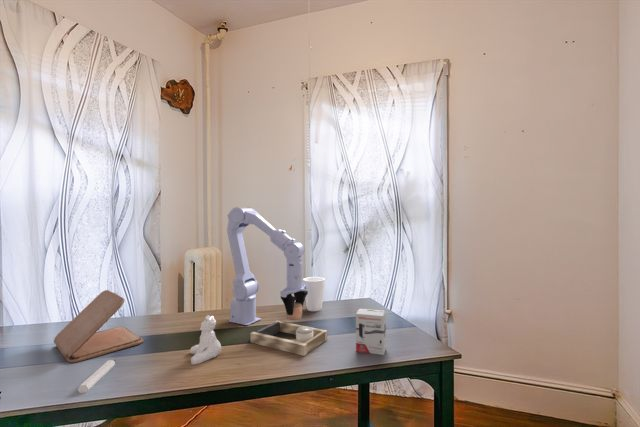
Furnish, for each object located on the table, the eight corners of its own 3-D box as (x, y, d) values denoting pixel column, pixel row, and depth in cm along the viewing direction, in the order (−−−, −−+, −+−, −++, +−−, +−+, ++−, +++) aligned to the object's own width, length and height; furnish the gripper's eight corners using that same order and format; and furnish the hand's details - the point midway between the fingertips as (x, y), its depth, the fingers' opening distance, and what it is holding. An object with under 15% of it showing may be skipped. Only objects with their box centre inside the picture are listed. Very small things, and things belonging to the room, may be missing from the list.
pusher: (250, 339, 110) (250, 329, 110) (270, 329, 119) (270, 319, 119) (260, 341, 108) (260, 331, 108) (279, 331, 117) (279, 321, 117)
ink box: (355, 352, 99) (355, 312, 99) (358, 345, 104) (358, 308, 104) (384, 355, 97) (384, 315, 97) (386, 348, 101) (385, 310, 101)
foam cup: (301, 311, 139) (300, 281, 139) (305, 305, 148) (305, 276, 148) (323, 312, 138) (323, 281, 138) (326, 306, 147) (326, 277, 147)
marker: (116, 365, 94) (84, 396, 78) (109, 362, 94) (76, 392, 78) (121, 357, 94) (90, 386, 79) (114, 354, 94) (82, 382, 78)
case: (52, 347, 106) (51, 297, 106) (125, 329, 121) (124, 285, 121) (65, 367, 92) (64, 310, 92) (146, 344, 107) (145, 295, 107)
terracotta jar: (284, 318, 121) (284, 304, 121) (292, 314, 125) (292, 300, 125) (296, 320, 118) (296, 306, 118) (305, 316, 123) (305, 302, 123)
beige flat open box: (250, 342, 107) (250, 333, 107) (277, 328, 119) (277, 320, 119) (304, 355, 97) (304, 345, 97) (327, 339, 109) (327, 330, 109)
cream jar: (292, 346, 104) (292, 330, 104) (302, 340, 109) (302, 325, 109) (307, 349, 101) (307, 333, 101) (316, 343, 106) (316, 327, 106)
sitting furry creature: (190, 352, 100) (189, 313, 100) (219, 347, 104) (219, 309, 104) (191, 365, 92) (190, 322, 91) (223, 360, 95) (222, 318, 95)
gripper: (292, 280, 113) (292, 319, 113) (314, 273, 126) (314, 308, 126) (275, 278, 117) (275, 316, 117) (298, 271, 129) (298, 306, 129)
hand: (294, 312), depth 122 cm, fingers closed on terracotta jar, 5 cm apart
